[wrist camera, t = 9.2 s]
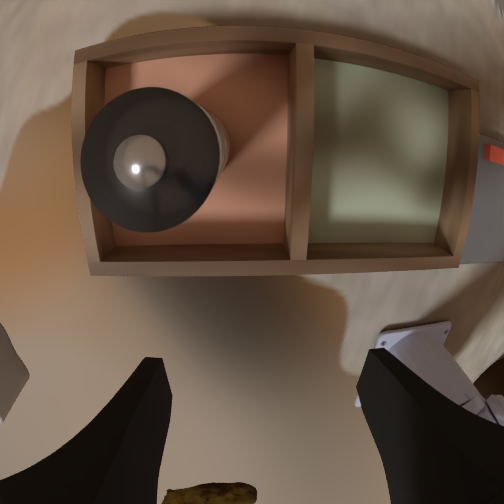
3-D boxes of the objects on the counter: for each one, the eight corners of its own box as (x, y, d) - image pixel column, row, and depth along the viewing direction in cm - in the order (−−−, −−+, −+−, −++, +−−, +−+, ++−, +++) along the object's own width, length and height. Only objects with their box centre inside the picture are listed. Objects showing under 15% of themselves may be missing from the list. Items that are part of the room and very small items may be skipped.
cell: (231, 183, 15) (219, 235, 7) (156, 187, 15) (83, 239, 7) (230, 107, 13) (216, 76, 6) (153, 113, 13) (70, 100, 6)
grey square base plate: (505, 256, 19) (516, 263, 18) (437, 259, 19) (448, 268, 17) (523, 153, 15) (535, 156, 14) (455, 127, 15) (470, 128, 13)
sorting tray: (430, 247, 18) (458, 267, 15) (113, 250, 17) (90, 275, 14) (445, 84, 14) (478, 80, 10) (102, 63, 13) (75, 50, 9)
